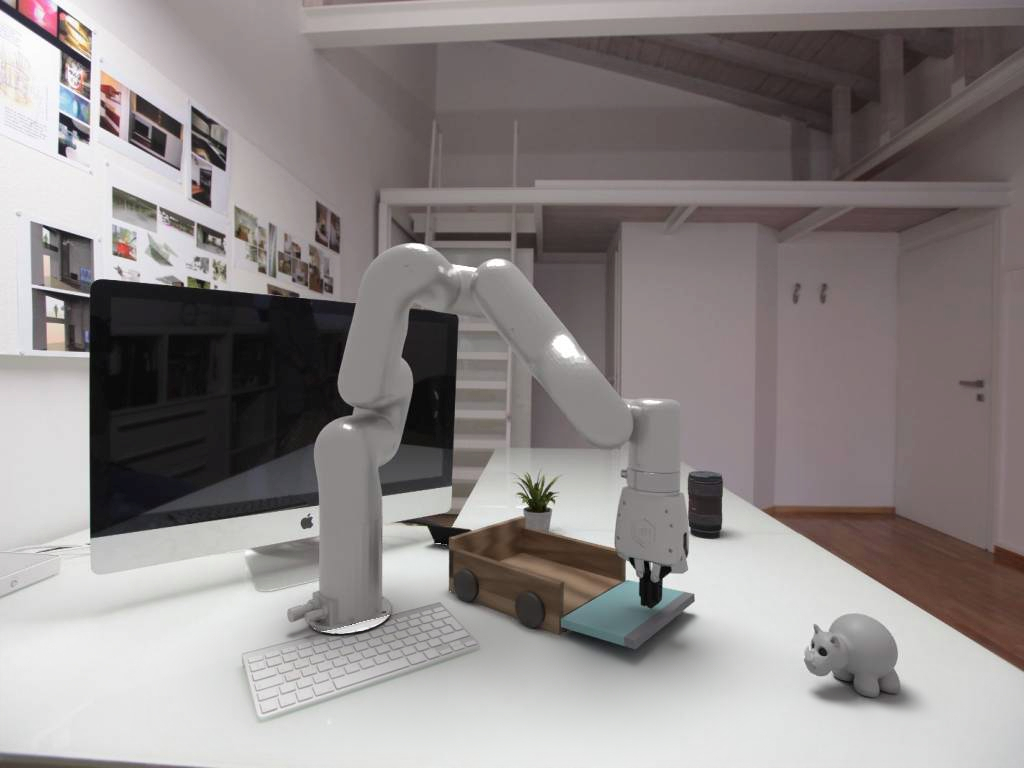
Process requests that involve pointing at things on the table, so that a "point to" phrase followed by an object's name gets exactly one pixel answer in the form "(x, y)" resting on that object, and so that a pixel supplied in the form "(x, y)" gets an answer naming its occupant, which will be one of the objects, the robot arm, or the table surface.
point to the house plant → (537, 503)
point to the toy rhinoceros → (856, 654)
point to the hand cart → (531, 572)
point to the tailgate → (626, 615)
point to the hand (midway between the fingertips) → (650, 604)
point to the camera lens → (705, 503)
